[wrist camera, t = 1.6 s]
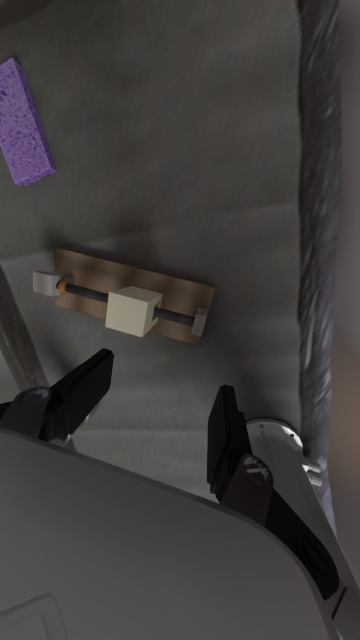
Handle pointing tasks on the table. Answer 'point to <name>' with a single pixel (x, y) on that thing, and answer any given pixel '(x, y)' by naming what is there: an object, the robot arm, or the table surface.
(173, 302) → the wooden linear slide
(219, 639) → the robot arm
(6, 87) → the sponges
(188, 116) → the table surface
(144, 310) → the cream foam block
